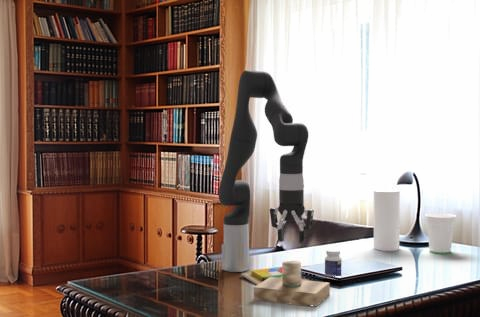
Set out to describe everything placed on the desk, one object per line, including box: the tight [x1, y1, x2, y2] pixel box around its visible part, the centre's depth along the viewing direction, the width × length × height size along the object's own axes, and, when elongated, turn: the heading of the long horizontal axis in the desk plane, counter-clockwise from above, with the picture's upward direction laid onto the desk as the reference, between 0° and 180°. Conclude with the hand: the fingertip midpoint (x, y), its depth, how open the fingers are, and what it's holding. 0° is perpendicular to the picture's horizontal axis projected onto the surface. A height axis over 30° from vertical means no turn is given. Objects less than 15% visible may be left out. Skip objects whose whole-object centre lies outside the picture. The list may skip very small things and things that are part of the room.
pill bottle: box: [324, 249, 342, 277], centre depth 225 cm, size 6×6×10 cm
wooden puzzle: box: [240, 266, 310, 286], centre depth 224 cm, size 18×19×4 cm
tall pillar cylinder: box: [373, 188, 401, 252], centre depth 276 cm, size 11×11×25 cm
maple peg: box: [281, 260, 302, 287], centre depth 201 cm, size 6×6×10 cm
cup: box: [424, 212, 457, 255], centre depth 268 cm, size 12×12×15 cm
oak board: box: [253, 277, 331, 306], centre depth 201 cm, size 20×14×4 cm
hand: (291, 241), depth 201 cm, fingers open, 6 cm apart
